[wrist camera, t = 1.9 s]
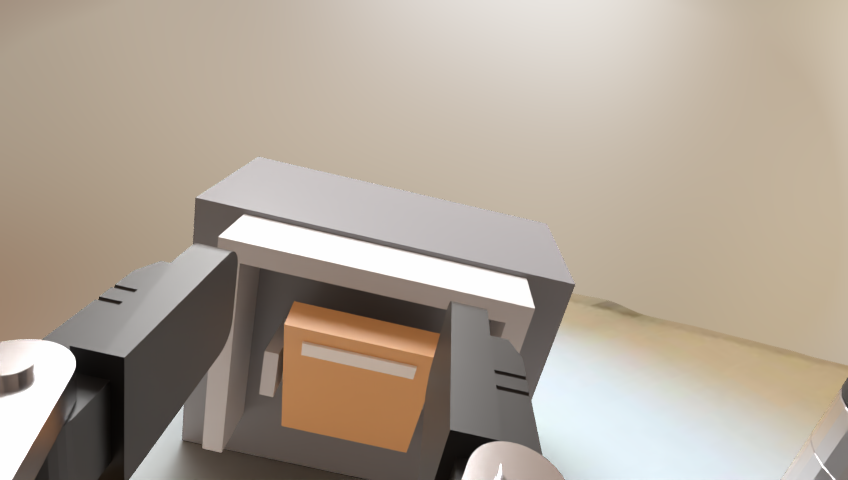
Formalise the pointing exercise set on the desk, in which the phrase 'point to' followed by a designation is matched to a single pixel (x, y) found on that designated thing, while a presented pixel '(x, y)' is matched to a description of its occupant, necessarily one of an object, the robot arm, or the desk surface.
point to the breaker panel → (356, 295)
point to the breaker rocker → (354, 376)
